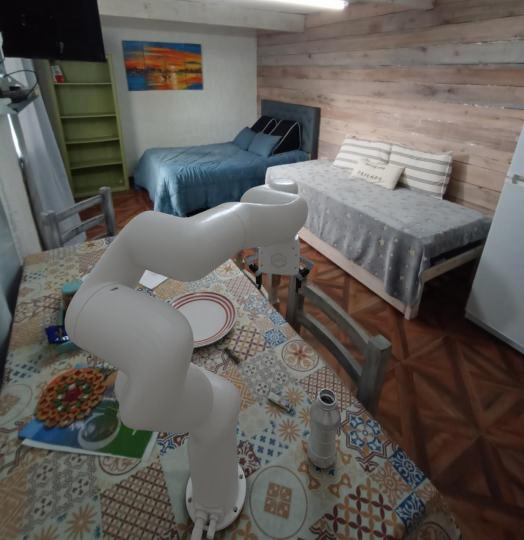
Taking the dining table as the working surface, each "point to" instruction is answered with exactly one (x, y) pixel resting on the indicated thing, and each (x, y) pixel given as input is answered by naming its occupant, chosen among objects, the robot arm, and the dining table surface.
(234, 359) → the walnut chopstick
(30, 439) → the dining table surface
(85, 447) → the dining table surface
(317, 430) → the plastic bottle
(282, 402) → the granola bar
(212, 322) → the dinner plate
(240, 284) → the dining table surface
